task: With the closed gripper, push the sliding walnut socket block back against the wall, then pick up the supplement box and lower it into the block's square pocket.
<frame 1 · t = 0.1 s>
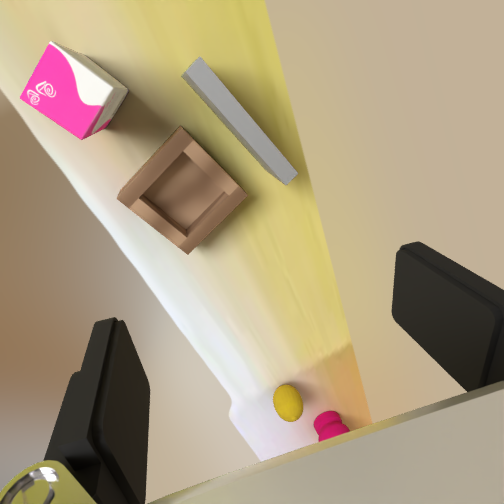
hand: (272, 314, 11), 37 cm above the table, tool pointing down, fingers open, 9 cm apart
lemon: (281, 385, 68), on the table
supplement box: (94, 93, 39), on the table
socket block: (184, 192, 44), point 2 cm above the table, slide at 4.0 cm
pepper mill: (325, 419, 76), on the table
backstop wall: (232, 121, 43), on the table
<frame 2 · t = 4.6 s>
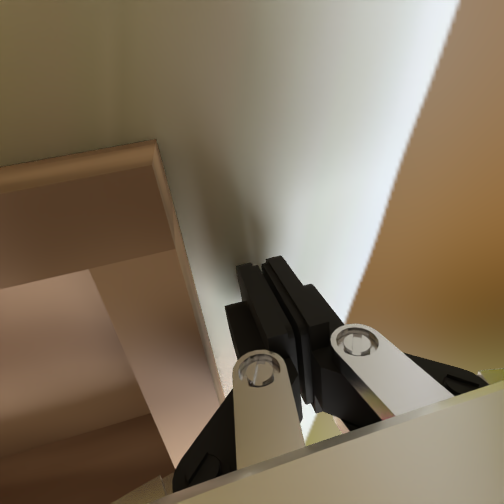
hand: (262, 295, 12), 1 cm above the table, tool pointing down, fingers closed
socket block: (12, 384, 10), point 2 cm above the table, slide at 3.6 cm, touching gripper
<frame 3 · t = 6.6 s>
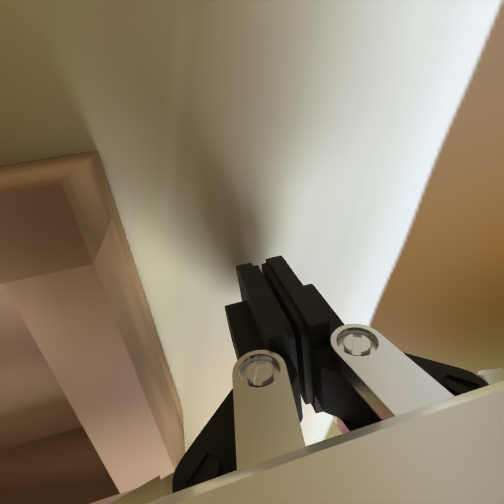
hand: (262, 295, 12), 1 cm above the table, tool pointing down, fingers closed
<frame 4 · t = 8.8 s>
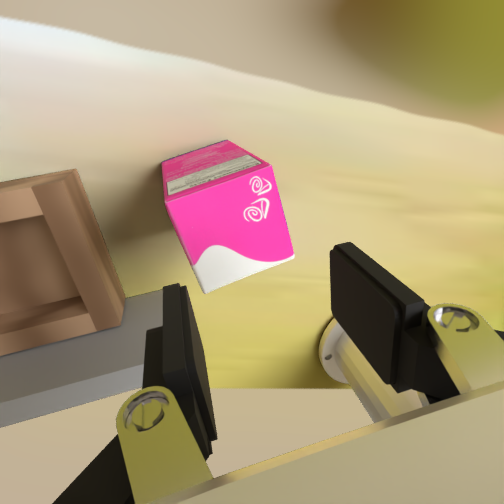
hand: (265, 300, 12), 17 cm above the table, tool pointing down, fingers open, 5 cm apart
supplement box: (207, 182, 27), on the table
socket block: (17, 267, 24), point 2 cm above the table, slide at 0.0 cm
backstop wall: (81, 319, 29), on the table
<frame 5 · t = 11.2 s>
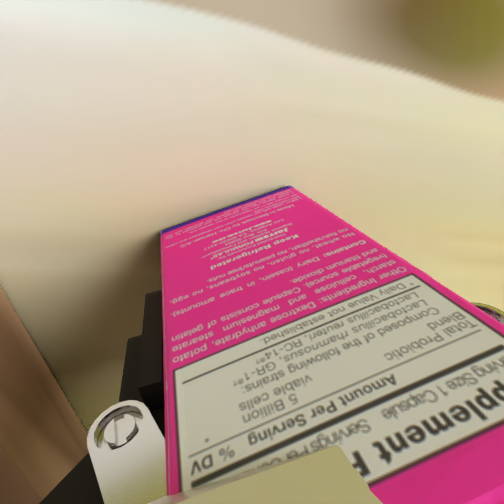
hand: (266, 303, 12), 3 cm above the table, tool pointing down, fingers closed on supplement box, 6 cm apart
supplement box: (245, 260, 15), on the table, touching gripper
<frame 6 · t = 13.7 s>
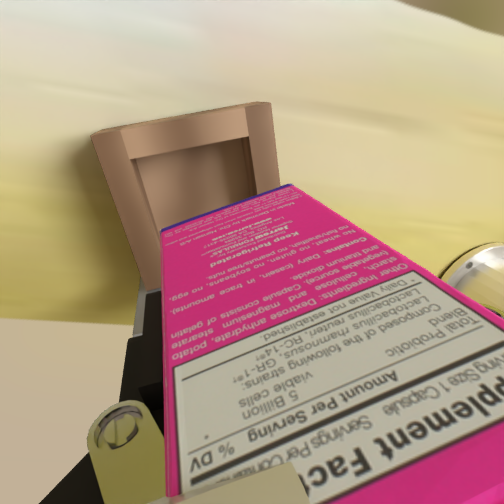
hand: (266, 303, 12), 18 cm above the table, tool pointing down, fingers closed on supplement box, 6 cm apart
supplement box: (245, 259, 14), point 14 cm above the table, touching gripper
socket block: (201, 196, 25), point 2 cm above the table, slide at 0.0 cm
backstop wall: (231, 258, 31), on the table
when the fingers open (6 cm above the table, at t = 16.5 s): supplement box drops 1 cm, resting on socket block.
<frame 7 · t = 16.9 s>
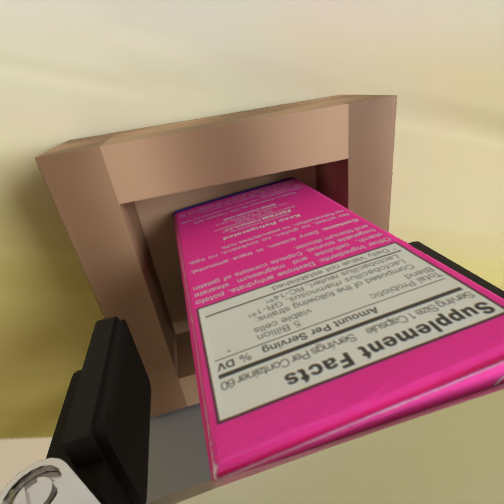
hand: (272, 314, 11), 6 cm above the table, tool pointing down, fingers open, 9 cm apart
supplement box: (248, 245, 16), point 1 cm above the table, touching socket block
socket block: (244, 257, 15), point 2 cm above the table, slide at 0.1 cm, touching supplement box
backstop wall: (276, 336, 20), on the table
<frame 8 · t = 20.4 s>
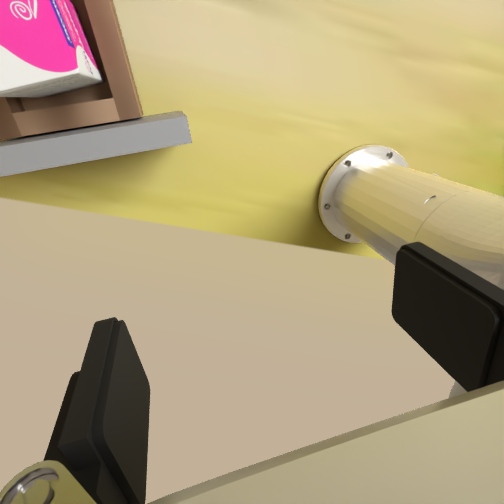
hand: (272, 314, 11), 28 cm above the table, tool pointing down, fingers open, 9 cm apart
supplement box: (60, 53, 28), point 1 cm above the table, touching socket block
socket block: (50, 52, 27), point 2 cm above the table, slide at 0.0 cm, touching supplement box
backstop wall: (102, 134, 33), on the table
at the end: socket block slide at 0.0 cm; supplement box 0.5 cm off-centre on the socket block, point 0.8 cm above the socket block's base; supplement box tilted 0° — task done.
